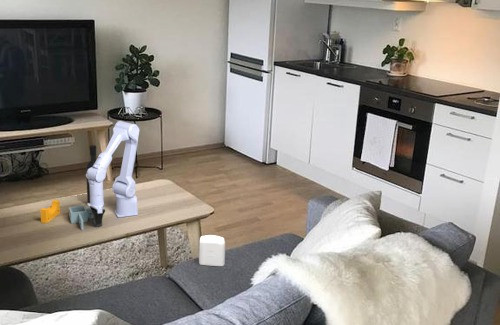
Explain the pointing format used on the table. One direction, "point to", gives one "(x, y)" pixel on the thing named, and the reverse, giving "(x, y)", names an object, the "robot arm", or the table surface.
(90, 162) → the wine bottle
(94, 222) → the pin
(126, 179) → the robot arm
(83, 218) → the square tube bracket
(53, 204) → the pipe clamp
